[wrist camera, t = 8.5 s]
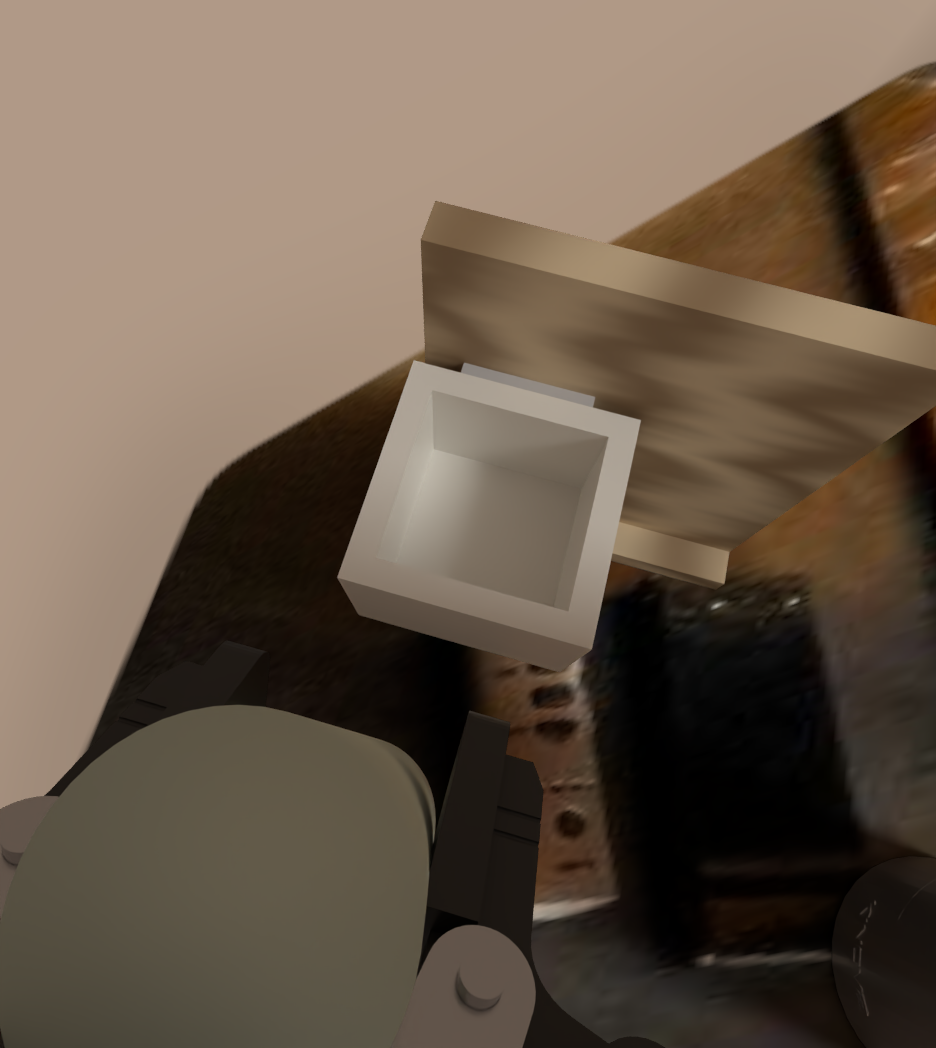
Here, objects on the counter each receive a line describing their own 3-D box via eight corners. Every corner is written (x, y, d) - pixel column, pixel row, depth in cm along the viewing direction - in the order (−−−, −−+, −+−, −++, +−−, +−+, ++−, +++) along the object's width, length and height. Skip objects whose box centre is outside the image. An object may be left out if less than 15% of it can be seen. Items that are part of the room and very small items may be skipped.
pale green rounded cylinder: (454, 760, 16) (471, 765, 6) (409, 932, 15) (345, 1252, 5) (307, 718, 16) (110, 659, 7) (250, 883, 15) (-92, 1104, 5)
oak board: (727, 511, 37) (975, 300, 20) (715, 589, 35) (970, 433, 18) (444, 435, 38) (446, 169, 21) (420, 508, 36) (402, 287, 19)
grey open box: (605, 471, 31) (644, 403, 25) (559, 672, 28) (591, 649, 22) (423, 422, 31) (419, 344, 25) (358, 615, 28) (337, 577, 22)
